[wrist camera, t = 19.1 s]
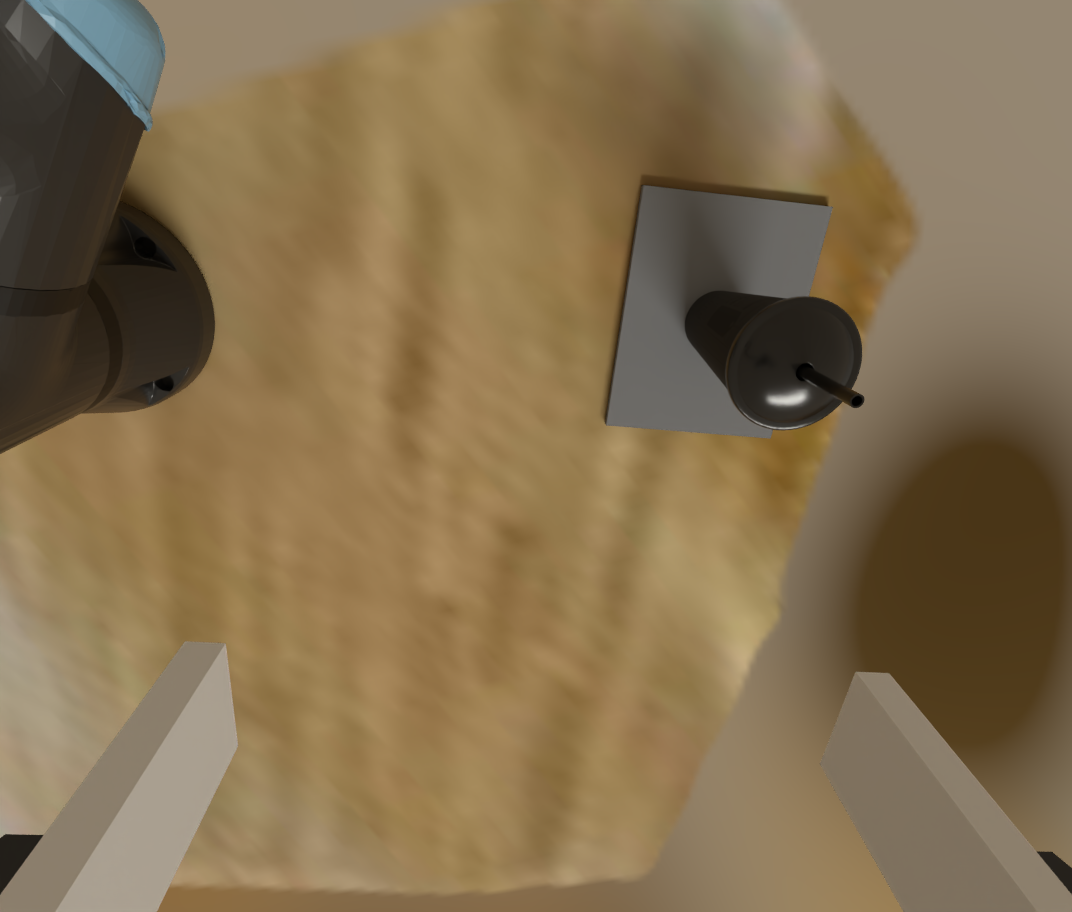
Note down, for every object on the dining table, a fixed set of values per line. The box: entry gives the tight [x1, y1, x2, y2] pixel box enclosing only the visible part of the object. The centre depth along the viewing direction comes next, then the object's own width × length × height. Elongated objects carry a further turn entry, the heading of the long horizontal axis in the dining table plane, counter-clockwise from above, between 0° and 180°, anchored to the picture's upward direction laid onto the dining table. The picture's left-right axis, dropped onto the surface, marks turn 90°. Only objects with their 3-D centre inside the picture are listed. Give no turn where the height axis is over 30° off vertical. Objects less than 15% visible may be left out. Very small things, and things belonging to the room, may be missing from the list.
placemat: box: [605, 185, 833, 438], centre depth 46 cm, size 14×18×1 cm
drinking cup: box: [685, 291, 864, 430], centre depth 37 cm, size 8×8×20 cm
